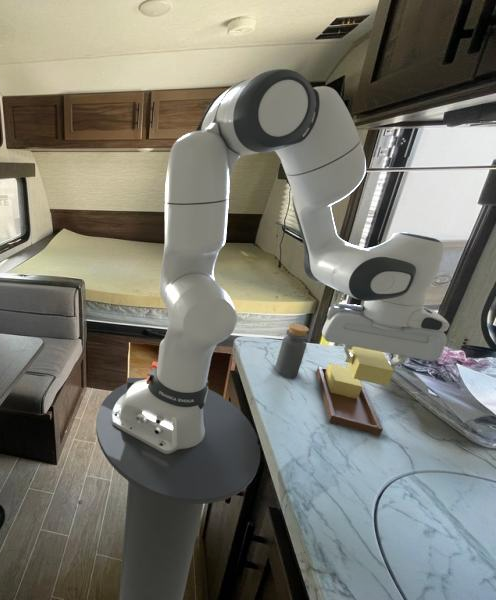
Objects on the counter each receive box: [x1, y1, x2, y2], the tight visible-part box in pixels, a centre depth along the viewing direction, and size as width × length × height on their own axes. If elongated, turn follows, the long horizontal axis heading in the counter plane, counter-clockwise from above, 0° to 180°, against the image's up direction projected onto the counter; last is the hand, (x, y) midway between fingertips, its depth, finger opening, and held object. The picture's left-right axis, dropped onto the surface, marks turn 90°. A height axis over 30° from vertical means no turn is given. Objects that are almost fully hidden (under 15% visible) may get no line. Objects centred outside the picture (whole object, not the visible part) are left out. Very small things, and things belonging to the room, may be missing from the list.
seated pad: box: [325, 362, 363, 399], centre depth 87 cm, size 6×9×4 cm, turn 154°
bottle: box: [274, 323, 310, 379], centre depth 92 cm, size 6×6×15 cm
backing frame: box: [315, 365, 384, 437], centre depth 83 cm, size 10×23×2 cm, turn 154°
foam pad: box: [346, 346, 395, 387], centre depth 73 cm, size 6×9×4 cm, turn 154°
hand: (367, 365), depth 73 cm, fingers closed on foam pad, 6 cm apart
